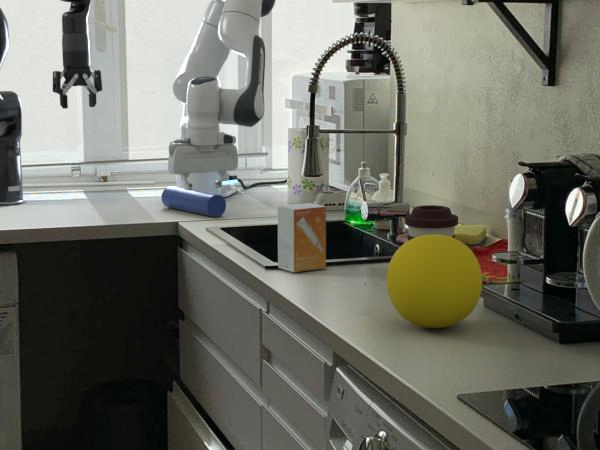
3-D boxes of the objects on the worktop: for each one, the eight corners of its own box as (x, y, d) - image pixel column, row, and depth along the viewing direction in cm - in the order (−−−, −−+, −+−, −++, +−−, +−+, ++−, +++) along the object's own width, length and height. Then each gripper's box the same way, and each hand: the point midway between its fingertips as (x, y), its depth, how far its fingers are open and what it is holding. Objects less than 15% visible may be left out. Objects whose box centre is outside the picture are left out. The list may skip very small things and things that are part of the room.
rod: (161, 208, 299) (161, 187, 298) (180, 206, 303) (179, 185, 302) (207, 218, 281) (206, 195, 280) (226, 216, 284) (226, 193, 283)
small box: (294, 273, 210) (293, 209, 208) (277, 268, 215) (276, 205, 213) (327, 268, 215) (326, 205, 212) (309, 263, 220) (309, 202, 218)
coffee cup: (400, 280, 202) (400, 204, 200) (450, 279, 203) (451, 203, 201) (409, 292, 193) (410, 212, 190) (462, 291, 193) (463, 211, 191)
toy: (451, 310, 179) (452, 224, 177) (498, 332, 165) (500, 239, 163) (371, 319, 174) (371, 230, 171) (412, 342, 160) (413, 246, 157)
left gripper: (92, 49, 300) (94, 106, 303) (46, 49, 291) (49, 108, 294) (105, 49, 294) (107, 107, 297) (58, 49, 285) (61, 109, 288)
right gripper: (174, 140, 272) (175, 193, 275) (241, 137, 284) (241, 187, 287) (163, 138, 278) (163, 190, 280) (228, 135, 289) (229, 184, 292)
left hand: (78, 107), depth 295 cm, fingers open, 8 cm apart
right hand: (203, 188), depth 283 cm, fingers open, 8 cm apart
